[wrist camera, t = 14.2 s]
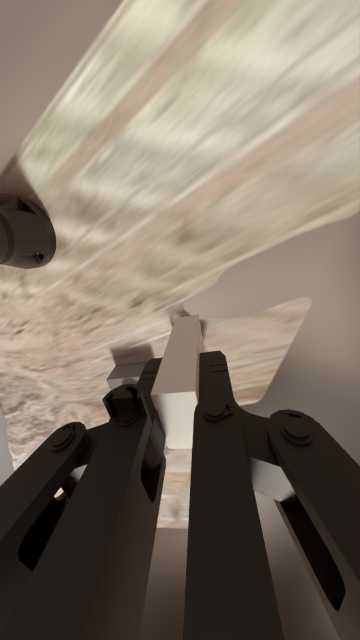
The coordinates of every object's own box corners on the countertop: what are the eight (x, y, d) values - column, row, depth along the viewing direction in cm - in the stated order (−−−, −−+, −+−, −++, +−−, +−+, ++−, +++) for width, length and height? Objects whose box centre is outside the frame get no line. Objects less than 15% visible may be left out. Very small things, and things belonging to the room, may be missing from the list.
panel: (173, 425, 63) (170, 442, 58) (139, 426, 65) (134, 443, 60) (154, 361, 54) (148, 375, 48) (115, 365, 56) (106, 379, 50)
